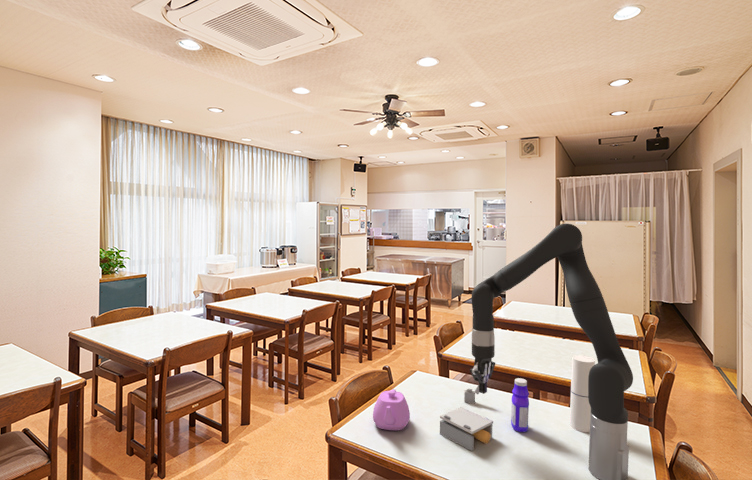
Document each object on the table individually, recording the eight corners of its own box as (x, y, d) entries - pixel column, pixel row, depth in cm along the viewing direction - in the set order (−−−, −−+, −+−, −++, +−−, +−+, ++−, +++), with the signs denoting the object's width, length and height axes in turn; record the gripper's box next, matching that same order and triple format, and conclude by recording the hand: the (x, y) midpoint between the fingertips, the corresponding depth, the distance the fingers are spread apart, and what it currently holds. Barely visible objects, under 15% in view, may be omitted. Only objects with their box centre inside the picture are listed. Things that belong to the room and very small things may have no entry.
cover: (493, 423, 128) (493, 419, 128) (472, 434, 120) (472, 430, 120) (461, 409, 138) (461, 405, 138) (440, 418, 129) (440, 414, 129)
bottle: (529, 434, 130) (531, 385, 129) (512, 432, 131) (514, 383, 130) (525, 423, 137) (527, 376, 136) (509, 421, 138) (510, 375, 138)
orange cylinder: (489, 442, 125) (491, 431, 126) (483, 444, 123) (484, 433, 123) (470, 432, 132) (471, 421, 132) (463, 434, 129) (465, 423, 130)
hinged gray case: (492, 437, 128) (492, 424, 128) (471, 451, 120) (472, 437, 120) (460, 422, 137) (460, 410, 137) (439, 433, 130) (439, 421, 129)
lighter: (464, 402, 153) (464, 383, 153) (464, 400, 155) (464, 381, 154) (482, 404, 152) (482, 384, 151) (482, 402, 153) (482, 383, 153)
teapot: (376, 410, 146) (376, 380, 145) (410, 413, 144) (411, 382, 143) (368, 438, 126) (368, 404, 125) (407, 442, 124) (408, 407, 124)
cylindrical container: (569, 428, 134) (572, 359, 133) (569, 419, 140) (572, 353, 139) (592, 434, 131) (595, 363, 130) (591, 424, 137) (594, 357, 136)
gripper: (483, 336, 135) (483, 384, 136) (462, 343, 126) (462, 394, 127) (502, 340, 130) (502, 390, 130) (482, 348, 121) (482, 402, 121)
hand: (482, 392), depth 128 cm, fingers closed
